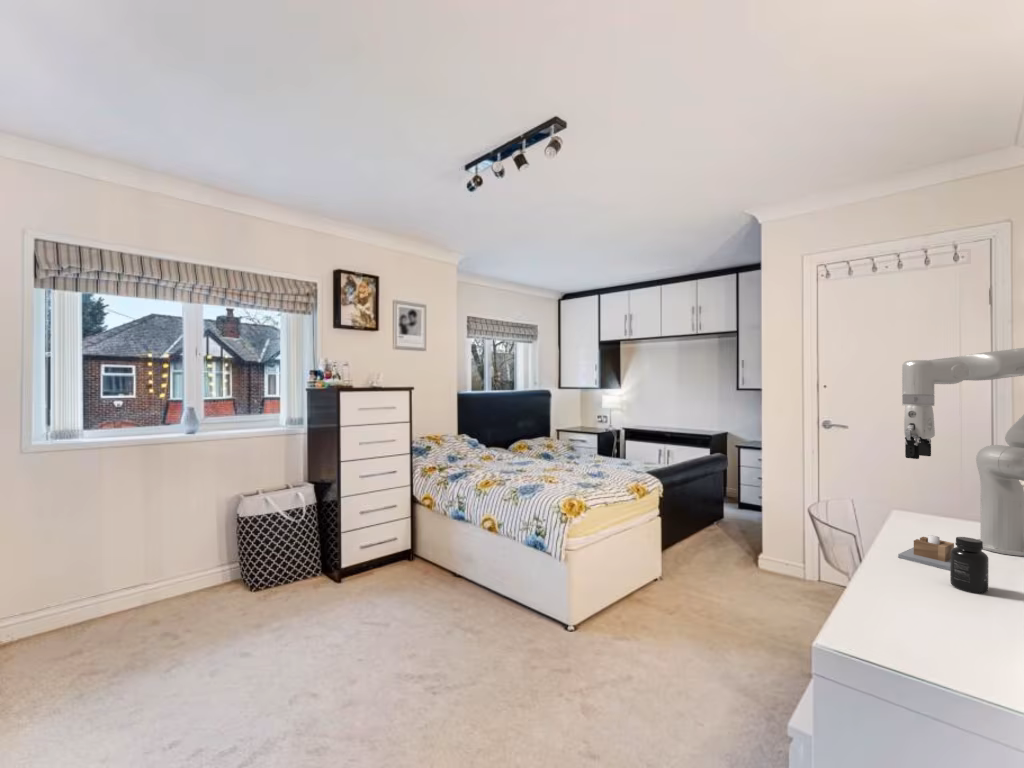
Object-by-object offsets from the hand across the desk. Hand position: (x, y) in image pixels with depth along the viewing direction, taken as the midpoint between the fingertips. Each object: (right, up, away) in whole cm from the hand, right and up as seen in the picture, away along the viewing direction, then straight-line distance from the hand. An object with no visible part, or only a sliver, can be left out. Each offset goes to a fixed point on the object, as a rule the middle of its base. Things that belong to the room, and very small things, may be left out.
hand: (918, 457), depth 147 cm
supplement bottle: (-12, -28, -28) cm, 42 cm away
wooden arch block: (-3, -27, -8) cm, 28 cm away
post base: (-3, -28, -9) cm, 29 cm away
